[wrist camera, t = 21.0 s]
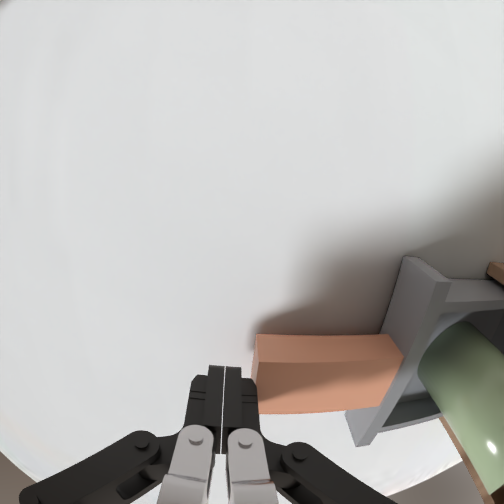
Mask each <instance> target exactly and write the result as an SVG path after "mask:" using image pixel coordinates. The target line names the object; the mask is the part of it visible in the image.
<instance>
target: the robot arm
mask: <svg viewBox="0 0 504 504" xmlns="http://www.w3.org/2000/svg"><path fill="white" fill-rule="evenodd" d="M224 367H225V366H215V365H209V370H208V376H206V375H197V376H196V377H195V378H194V379H193V381H192V382H191V387H190V393H189V399H188V404H187V410H186V416H185V422H184V426H183V428H182V429H181V430H180V431H179V432H178V433H176V434H174V435H171V436H165V437H156V436H155V435H154V434H152V433H150V432H148V431H135V432H132V433H130V434H129V435H127V436H125V437H124V438H122V439H120V440H119V441H117V442H115V443H113V444H112V445H110V446H108V447H106V448H105V449H103V450H101V451H99V452H97V453H96V454H94V455H92V456H90V457H88V458H86V459H85V460H83V461H81V462H79V463H77V464H75V465H73V466H71V467H69V468H67V469H65V470H63V471H61V472H59V473H57V474H55V475H53V476H51V477H49V478H46V479H44V480H42V481H40V482H38V483H36V484H33V485H31V486H29V487H26V488H24V489H23V490H22V491H21V493H20V495H19V502H20V504H130V503H132V502H133V501H135V500H136V499H138V498H140V497H141V496H143V495H144V494H146V493H147V492H149V491H150V490H152V489H153V488H154V487H156V486H157V485H159V484H160V483H162V485H161V489H160V492H159V496H158V500H157V504H208V500H209V494H210V487H211V480H212V474H213V467H214V465H215V454H220V442H221V422H222V402H223V384H224ZM257 396H258V394H257V386H256V384H255V383H254V381H253V380H252V379H251V378H241V367H228V366H226V372H225V387H224V406H223V428H222V453H221V454H226V469H225V470H226V482H227V494H228V504H279V502H278V497H277V493H276V490H277V491H278V492H279V493H280V494H281V495H282V496H284V497H285V498H286V499H287V500H288V501H290V502H291V503H292V504H397V503H395V502H394V501H392V500H390V499H389V498H387V497H385V496H384V495H382V494H380V493H379V492H377V491H376V490H374V489H372V488H371V487H369V486H368V485H366V484H364V483H363V482H361V481H360V480H358V479H357V478H355V477H354V476H352V475H351V474H349V473H348V472H346V471H345V470H344V469H342V468H341V467H339V466H338V465H336V464H335V463H334V462H332V461H331V460H329V459H328V458H327V457H325V456H324V455H323V454H321V453H320V452H319V451H317V450H316V449H315V448H313V447H312V446H310V445H309V444H307V443H303V442H294V443H291V444H289V445H287V446H284V445H280V444H276V443H273V442H270V441H269V440H267V439H266V438H265V437H264V436H263V435H262V433H261V431H260V422H259V408H258V397H257Z"/></svg>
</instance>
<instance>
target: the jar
mask: <svg viewBox="0 0 504 504" xmlns="http://www.w3.org/2000/svg"><path fill="white" fill-rule="evenodd" d="M417 375H418V378H419V380H420V381H421V383H422V384H423V386H424V387H425V389H426V390H427V392H428V393H429V395H430V396H431V398H432V399H433V401H434V402H435V404H436V405H437V407H438V408H439V410H440V411H441V413H442V415H443V416H444V418H445V419H446V421H447V423H448V424H449V426H450V427H451V429H452V431H453V432H454V434H455V435H456V437H457V439H458V440H459V442H460V444H461V445H462V447H463V449H464V451H465V452H466V454H467V456H468V457H469V459H470V461H471V463H472V464H473V466H474V468H475V470H476V472H477V473H478V475H479V477H480V479H481V481H482V483H483V485H484V486H485V488H486V490H487V492H488V494H489V495H490V494H492V493H493V492H495V491H496V490H498V489H499V488H500V487H502V486H503V485H504V354H503V353H502V352H501V351H500V350H499V349H498V348H497V347H496V346H495V345H494V344H493V343H492V342H491V341H490V340H489V339H488V338H487V337H486V336H485V335H484V334H482V333H481V332H480V331H479V330H478V329H477V328H476V327H475V326H474V325H473V324H472V323H470V322H467V321H463V322H459V323H456V324H454V325H452V326H450V327H449V328H447V329H446V330H445V331H443V332H442V333H441V334H440V335H439V336H438V337H437V338H436V339H435V340H434V341H433V342H432V343H431V344H430V346H429V347H428V348H427V350H426V351H425V353H424V354H423V356H422V358H421V360H420V362H419V365H418V370H417Z"/></svg>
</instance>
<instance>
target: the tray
mask: <svg viewBox="0 0 504 504" xmlns="http://www.w3.org/2000/svg"><path fill="white" fill-rule="evenodd" d="M463 321H467V322H470V323H472V324H473V325H474V326H475V327H476V328H477V329H478V330H479V331H480V332H481V333H482V334H484V335H485V336H486V337H487V338H488V339H489V340H490V341H491V342H492V343H493V344H494V345H495V346H496V347H497V348H498V349H499V350H500V351H501V352H502V353H503V354H504V285H503V284H502V283H500V282H499V281H497V280H470V279H447V278H446V277H445V276H443V275H442V274H441V273H439V272H438V271H437V270H435V269H434V268H433V267H431V266H430V265H428V264H427V263H426V262H424V261H423V260H421V259H420V258H419V257H409V256H404V257H403V260H402V264H401V268H400V272H399V275H398V279H397V282H396V286H395V289H394V292H393V296H392V299H391V302H390V305H389V308H388V311H387V314H386V317H385V320H384V323H383V326H382V328H381V331H380V334H377V335H336V336H314V335H272V334H256V341H255V348H254V356H253V364H252V371H251V379H252V380H253V381H254V383H255V384H256V386H257V394H258V396H257V397H258V408H259V414H303V413H321V412H333V411H344V410H347V411H346V413H345V417H346V420H347V423H348V426H349V429H350V432H351V434H352V437H353V440H354V443H355V446H356V447H360V446H366V445H370V443H371V442H372V441H373V439H374V438H375V436H376V435H377V433H380V432H385V431H390V430H394V429H399V428H403V427H407V426H411V425H415V424H419V423H423V422H426V421H430V420H433V419H436V418H439V417H443V415H442V413H441V411H440V410H439V408H438V407H437V405H436V404H435V402H434V401H433V399H432V398H431V396H430V395H429V393H428V392H427V390H426V389H425V387H424V386H423V384H422V383H421V381H420V380H419V378H418V375H417V370H418V365H419V362H420V360H421V358H422V356H423V354H424V353H425V351H426V350H427V348H428V347H429V346H430V344H431V343H432V342H433V341H434V340H435V339H436V338H437V337H438V336H439V335H440V334H441V333H442V332H443V331H445V330H446V329H447V328H449V327H450V326H452V325H454V324H456V323H459V322H463Z"/></svg>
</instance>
